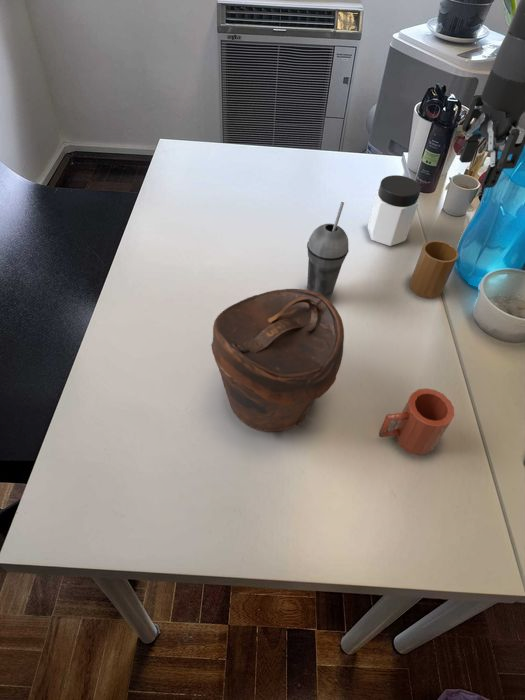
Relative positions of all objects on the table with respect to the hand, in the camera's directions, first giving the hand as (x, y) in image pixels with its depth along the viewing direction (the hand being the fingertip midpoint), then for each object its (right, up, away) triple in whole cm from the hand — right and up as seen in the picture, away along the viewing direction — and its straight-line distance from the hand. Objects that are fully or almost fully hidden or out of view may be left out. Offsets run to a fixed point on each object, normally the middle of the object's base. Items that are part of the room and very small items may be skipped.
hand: (475, 173), depth 81 cm
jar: (-9, -5, +23) cm, 26 cm away
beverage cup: (-26, -20, +9) cm, 34 cm away
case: (-35, -38, -7) cm, 52 cm away
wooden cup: (-5, -18, +12) cm, 22 cm away
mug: (-16, -44, -11) cm, 48 cm away
